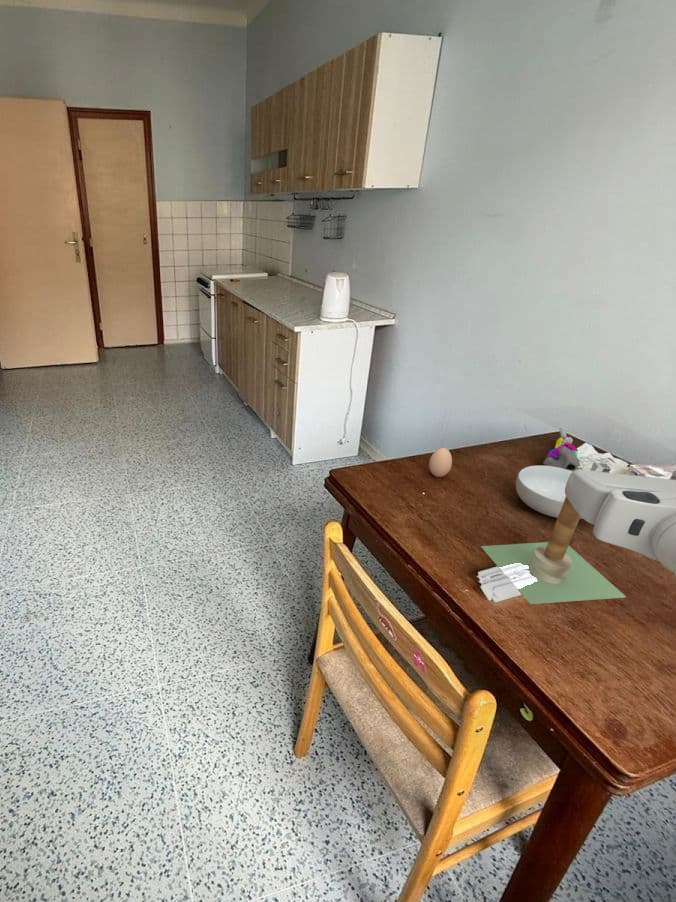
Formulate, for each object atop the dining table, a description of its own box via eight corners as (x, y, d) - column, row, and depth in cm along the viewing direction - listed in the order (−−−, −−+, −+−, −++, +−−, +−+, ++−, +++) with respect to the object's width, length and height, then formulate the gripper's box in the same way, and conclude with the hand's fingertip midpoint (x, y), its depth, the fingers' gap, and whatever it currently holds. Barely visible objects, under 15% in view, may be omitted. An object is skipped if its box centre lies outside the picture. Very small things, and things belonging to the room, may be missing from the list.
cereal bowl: (548, 535, 101) (559, 508, 97) (494, 494, 115) (501, 469, 112) (614, 524, 104) (627, 498, 100) (553, 486, 118) (562, 461, 115)
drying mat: (562, 543, 98) (563, 540, 98) (625, 599, 84) (626, 597, 84) (479, 548, 97) (480, 546, 97) (529, 606, 83) (530, 603, 83)
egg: (435, 469, 126) (441, 441, 122) (452, 477, 122) (459, 449, 118) (422, 474, 124) (428, 446, 120) (439, 483, 120) (446, 454, 116)
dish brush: (549, 560, 93) (583, 473, 83) (573, 581, 88) (613, 491, 78) (521, 564, 92) (553, 476, 83) (544, 585, 87) (580, 494, 77)
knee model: (562, 460, 139) (571, 490, 119) (536, 444, 141) (541, 471, 121) (586, 436, 134) (601, 463, 114) (559, 420, 136) (569, 444, 116)
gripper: (824, 521, 50) (740, 460, 61) (599, 494, 55) (561, 443, 67) (791, 567, 53) (717, 501, 64) (581, 537, 58) (548, 481, 70)
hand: (636, 471), depth 66 cm, fingers open, 8 cm apart
